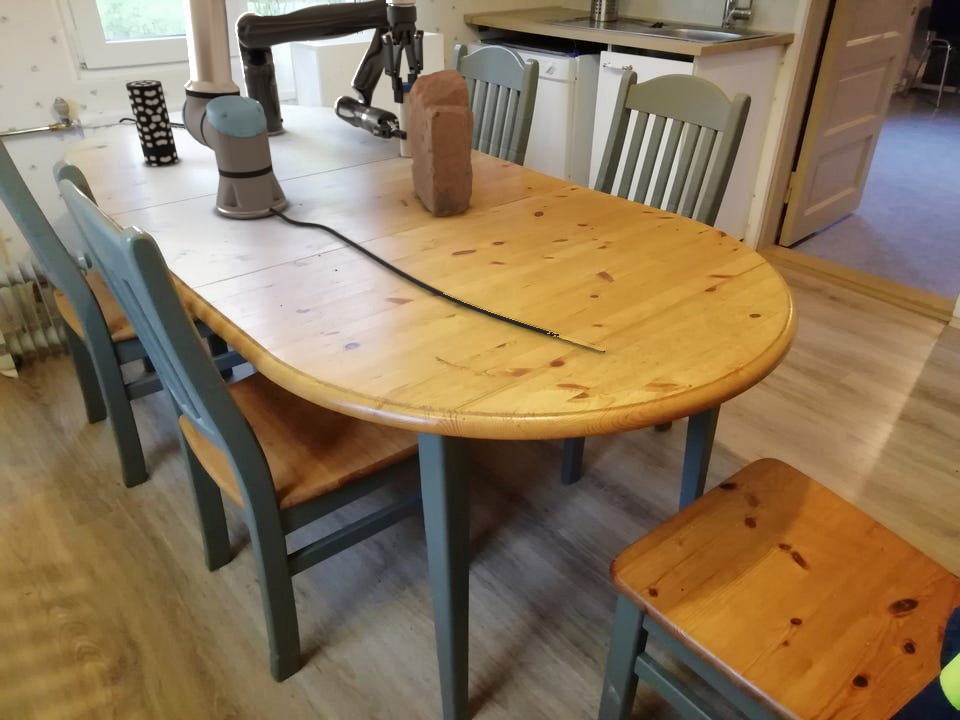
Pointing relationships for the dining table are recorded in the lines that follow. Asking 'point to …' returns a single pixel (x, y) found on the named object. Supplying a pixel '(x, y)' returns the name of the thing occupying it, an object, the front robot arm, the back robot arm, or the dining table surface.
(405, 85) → the lid
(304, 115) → the dining table surface
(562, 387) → the dining table surface
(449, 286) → the dining table surface
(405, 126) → the white cylinder
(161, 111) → the black spotted cylinder
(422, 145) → the stone
